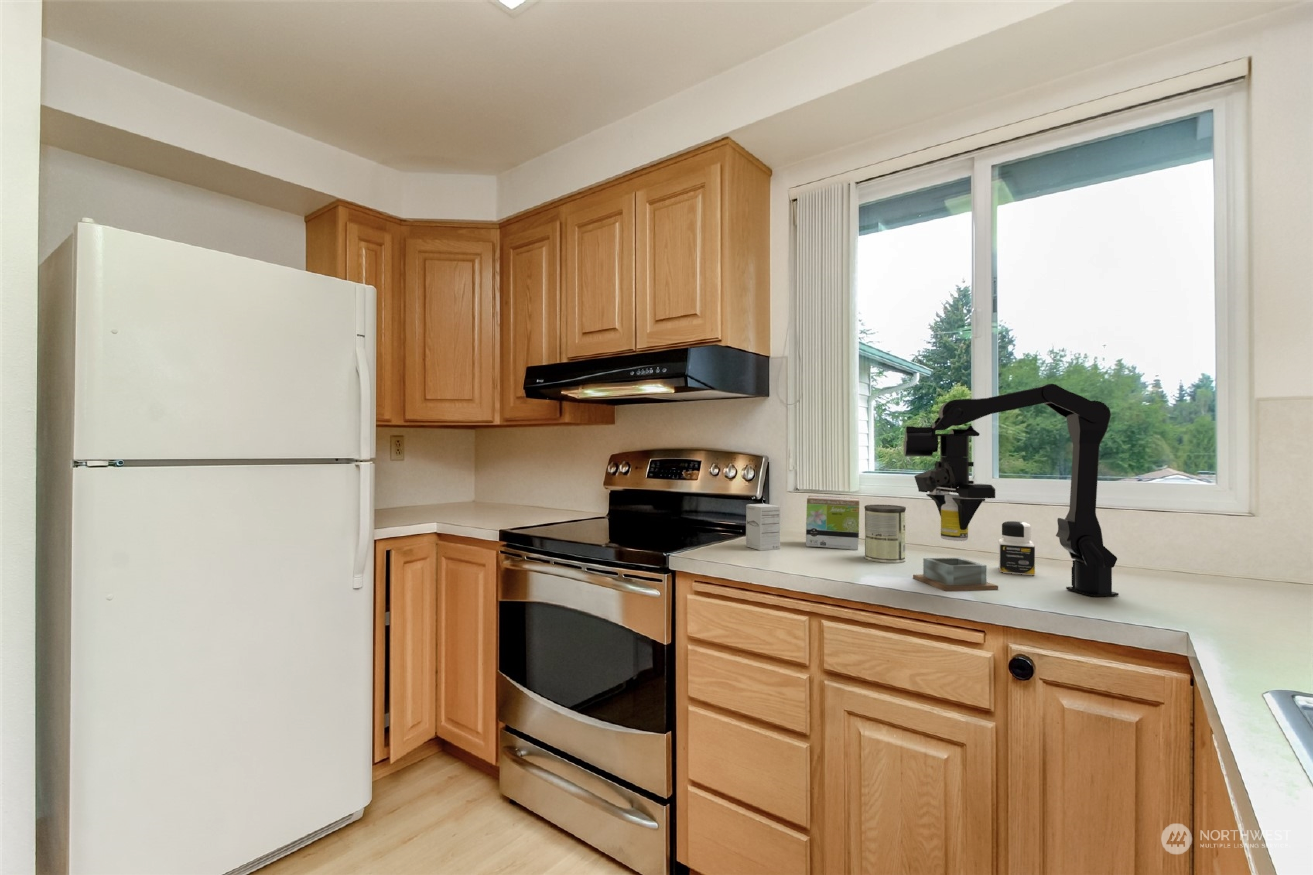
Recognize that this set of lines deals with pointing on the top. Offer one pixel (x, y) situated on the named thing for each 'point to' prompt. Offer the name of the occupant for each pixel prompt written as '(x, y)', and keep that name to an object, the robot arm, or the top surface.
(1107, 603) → the top surface
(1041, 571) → the top surface
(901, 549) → the coffee can
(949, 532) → the supplement bottle
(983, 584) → the socket board
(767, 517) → the supplement box
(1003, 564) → the medicine bottle
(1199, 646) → the top surface
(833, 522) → the tea box
